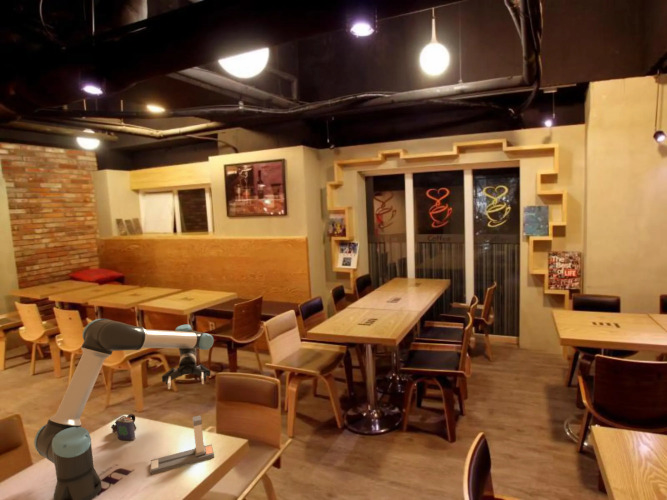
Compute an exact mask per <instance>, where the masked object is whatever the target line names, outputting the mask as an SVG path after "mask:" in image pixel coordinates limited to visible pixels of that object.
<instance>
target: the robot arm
mask: <svg viewBox="0 0 667 500" xmlns="http://www.w3.org/2000/svg"><path fill="white" fill-rule="evenodd" d="M82 338H83V342H82V345H81V347H80V349H81V351H82V355H81V357H80V360H79V361H78V364H77V365H76V368H75V370H74V373H73V375H72V376H71V380H70V382H69V384H68V386H67V389H66V391H65V393H64V395H63V397H62V399H61V401H60V404H59V406H58V409H57V410H56V413H55V414H54V415H52V416H50V417H49V418H48V420H47V423H45V425H43V426H41V427H40V429H38V431H37V432H36V434H35V437H34V442H33V444H34V445H33V446H34V448H35V450H36V452H37V453H38V455H40V456H41V457H43V458H45V459H47V461H50V462H51V463H52V464H53V465H54V469H55V476H56V483H55V488H54V493H53V496H52V497H53V498H52V499H53V500H92V499H94V498H95V497H96V496H97V495H99V493H100V492H101V490H102V488H103V487H102V478H101V477H100V476H99V473H98V472H97V471H96V468H95V466H94V457H93V448H92V438H91V435H90V432H89V430H88V429H87V428H85V427H83V426H82V421H81V416H82V415H83V411H84V410H85V407H86V404H87V403H88V400H89V399H90V396H91V393H92V391H93V389H94V386H95V384H96V382H97V380H98V377H99V374H100V372H101V370H102V367H103V366H104V362H105V361H106V359H107V358H109V357H111V356H112V354H113V352H118V351H120V352H121V351H122V352H123V351H139V350H142V349H145V348H146V349H178V352H179V356H180V357H179V363H178V367H177V368H175V367H174V366H173V367H171V368H170V369H169V370H168V371H167V372H165V373H164V374H163V375H161V382H162V383H165V385H167V390H170V389H171V385H172V381H173V380H174V379H177V378H179V377H182V376H183V375H194V376H195V375H197V376H200V377H201V385H204V384H205V380H206V379H207V377H210V376H211V370H210V369H209V368H208V367H206V366H204V364H203V363H200V364H198V365H197V355H198V352H197V349H198V350H201V351H204V350H205V351H208V350H210V349H211V348H212V347H213V345H214V340H215V339H214V336H213V335H212V334H209V333H206V332H201V331H197V330H193V329H192V326H191V325H190V324H189V323H188V324H182V325H179V326H177V327H176V328H175V330H164V329H163V330H161V329H145V328H144V327H143V326H140V325H139V326H138V325H137V326H136V325H132V324H127V323H125V322H121V321H116V320H112V319H109V318H96V319H94V320H92V321H90V322H88V323H87V324H86V325H85V327H84V328H83V331H82Z"/></svg>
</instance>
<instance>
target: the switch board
mask: <svg viewBox="0 0 667 500" xmlns="http://www.w3.org/2000/svg"><path fill="white" fill-rule="evenodd" d="M204 446H205V451H206V454H203V455H199V456H196V455H195V448H192V449H189V450H188V449H187V450H183V451H181V452H177V453H173V454H169V455H165V456H163V457H158V458H153V459H151V460H150V475H155V474H158V473H162V472H166V471H170V470H173V469H177V468H180V467H184V466H187V465H188V466H189V465H191V464H195V463H198V462H203V461H205V460H210V459H213V458H215V453H214V449H213V445H212V443H211V444H208V445H207V444H206V445H204Z"/></svg>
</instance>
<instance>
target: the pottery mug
mask: <svg viewBox="0 0 667 500" xmlns="http://www.w3.org/2000/svg"><path fill="white" fill-rule="evenodd" d="M125 416H126V415H122V416H120V417H119V418H121V417H122V419H123V417H125ZM126 420H133V422H134V432H135V431H136V430H137V426H136V424H135V421H136V415H135V414H134V413H130V414H128V415H127V416H126ZM111 429H112V433H117V423H116V421H115V422H114V423H113V424H112V425H111Z"/></svg>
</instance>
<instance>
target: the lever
mask: <svg viewBox="0 0 667 500" xmlns="http://www.w3.org/2000/svg"><path fill="white" fill-rule="evenodd" d="M201 416H202V415H196V416H192V424H193V433H194V443H195V447H194V449H195V455H196V456H199V455H203V454H206V451H205V446H206V445H205V443H204V434H203V425H202V424H203V423H202V422H203V421H202V417H201Z"/></svg>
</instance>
